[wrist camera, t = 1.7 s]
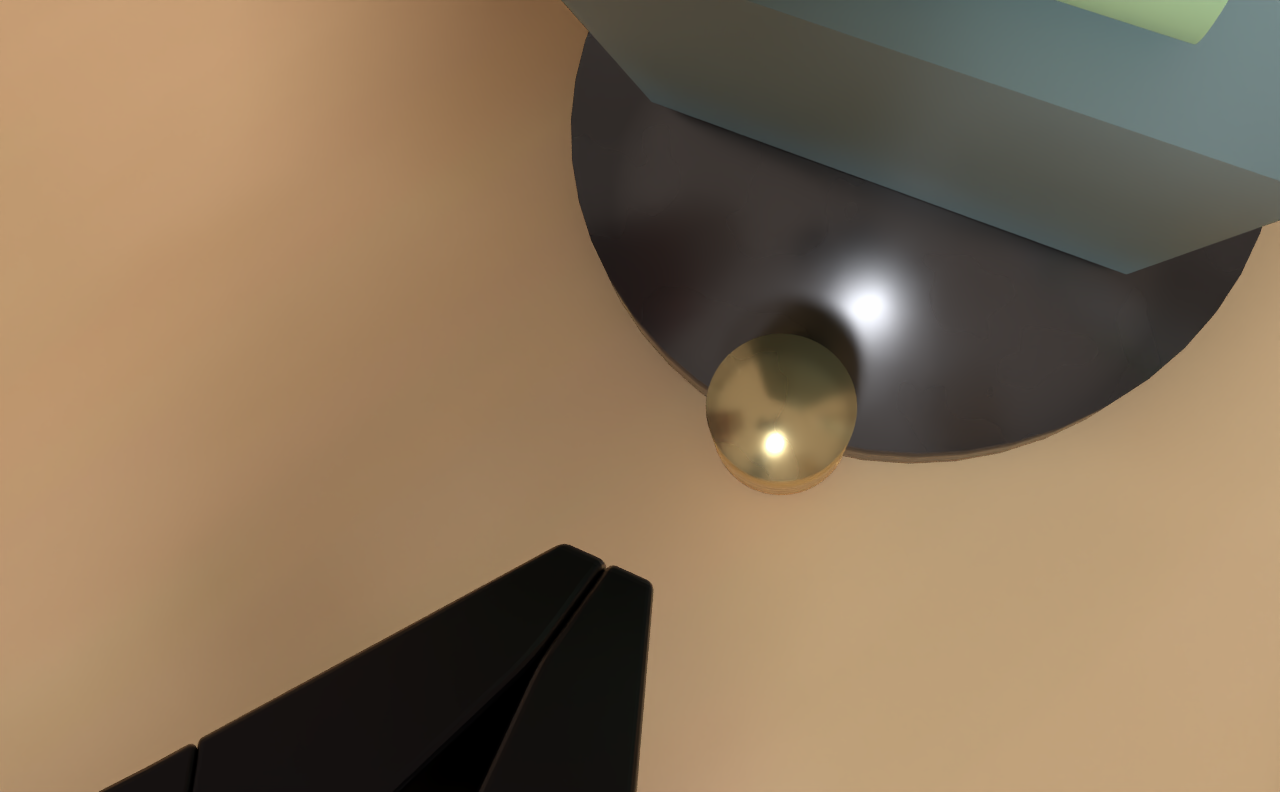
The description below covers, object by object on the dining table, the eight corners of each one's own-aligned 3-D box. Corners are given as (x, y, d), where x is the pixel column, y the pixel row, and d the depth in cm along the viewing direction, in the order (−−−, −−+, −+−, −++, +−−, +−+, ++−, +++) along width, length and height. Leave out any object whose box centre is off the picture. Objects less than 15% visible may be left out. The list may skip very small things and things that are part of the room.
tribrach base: (1102, 637, 21) (1141, 640, 19) (445, 357, 24) (409, 329, 22) (1353, -32, 23) (1417, -104, 21) (720, -221, 26) (715, -304, 24)
